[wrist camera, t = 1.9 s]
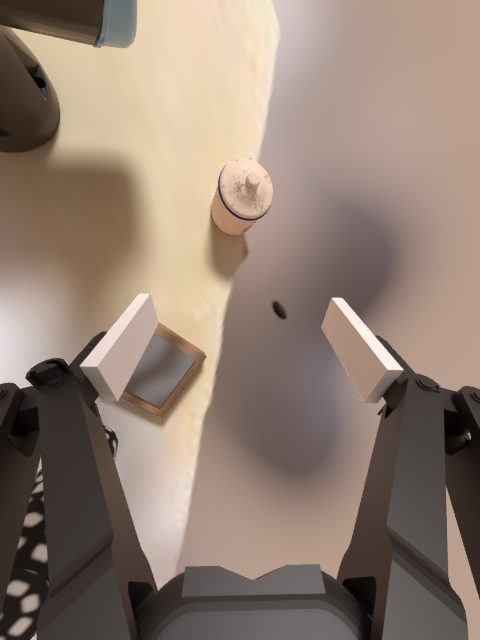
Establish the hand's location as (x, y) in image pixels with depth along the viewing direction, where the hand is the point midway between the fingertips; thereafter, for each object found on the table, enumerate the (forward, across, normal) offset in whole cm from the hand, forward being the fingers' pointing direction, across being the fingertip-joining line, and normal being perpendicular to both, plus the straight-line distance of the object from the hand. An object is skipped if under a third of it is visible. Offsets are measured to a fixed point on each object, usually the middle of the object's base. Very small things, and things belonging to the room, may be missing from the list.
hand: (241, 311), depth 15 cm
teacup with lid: (+33, -1, +3) cm, 33 cm away
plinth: (+13, -15, -21) cm, 29 cm away
